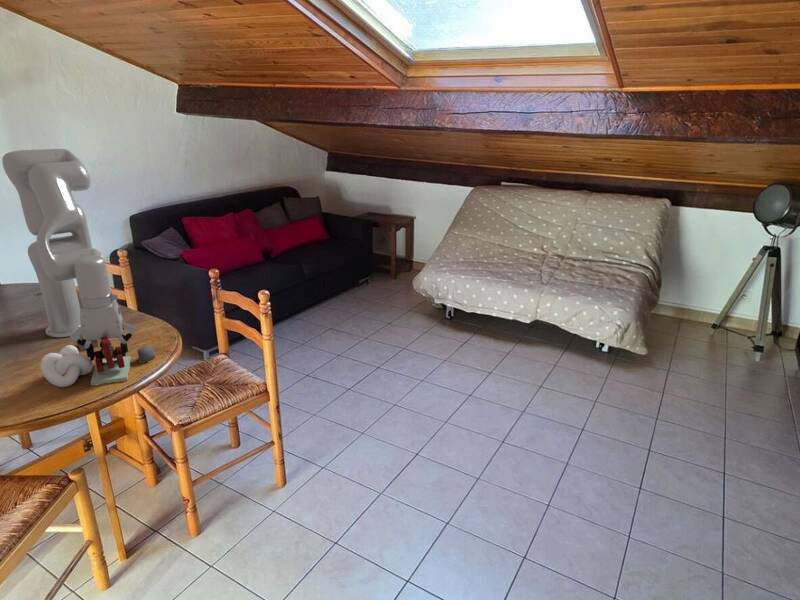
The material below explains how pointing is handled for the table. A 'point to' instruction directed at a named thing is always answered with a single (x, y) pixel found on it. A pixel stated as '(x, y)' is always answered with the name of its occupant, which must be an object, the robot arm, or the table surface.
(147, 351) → the grey rounded pebble
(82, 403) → the table surface
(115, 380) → the board
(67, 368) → the white knot
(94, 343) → the walnut block
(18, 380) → the table surface
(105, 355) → the red wheeled piece
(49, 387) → the table surface
